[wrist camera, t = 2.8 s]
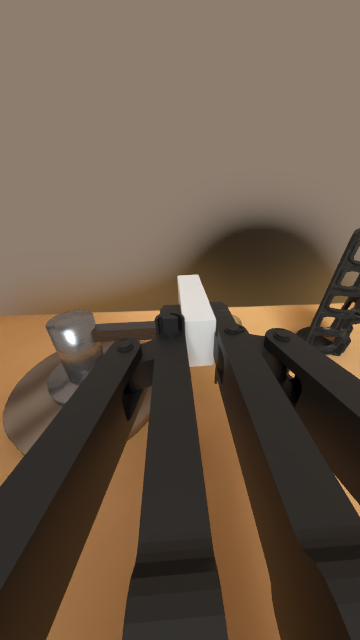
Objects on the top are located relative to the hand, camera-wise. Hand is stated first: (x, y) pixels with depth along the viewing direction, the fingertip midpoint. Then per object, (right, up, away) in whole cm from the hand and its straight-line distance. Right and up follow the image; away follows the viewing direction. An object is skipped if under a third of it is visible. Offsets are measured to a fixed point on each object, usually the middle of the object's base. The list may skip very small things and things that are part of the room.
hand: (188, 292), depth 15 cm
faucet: (-5, -9, +13) cm, 17 cm away
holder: (+25, -7, +21) cm, 33 cm away
